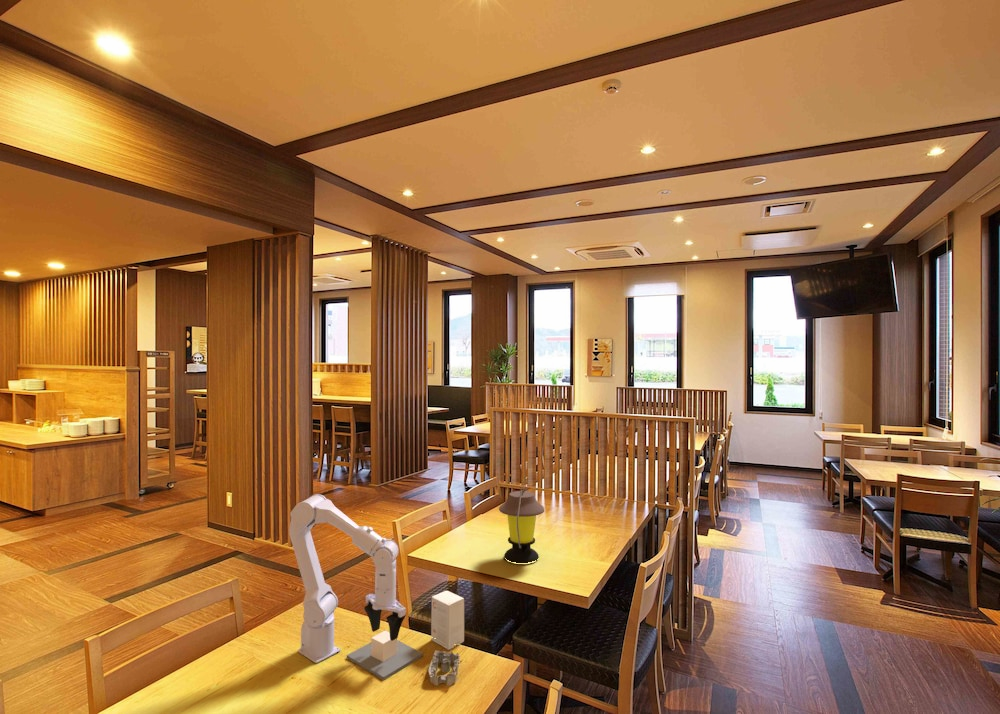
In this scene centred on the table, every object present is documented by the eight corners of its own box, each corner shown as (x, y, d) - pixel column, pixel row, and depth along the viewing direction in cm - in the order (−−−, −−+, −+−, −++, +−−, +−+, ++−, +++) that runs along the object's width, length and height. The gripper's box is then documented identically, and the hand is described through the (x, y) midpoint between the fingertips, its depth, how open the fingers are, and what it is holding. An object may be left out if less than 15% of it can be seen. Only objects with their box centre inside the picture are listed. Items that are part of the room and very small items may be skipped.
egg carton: (455, 688, 131) (455, 672, 131) (426, 686, 132) (426, 670, 132) (461, 663, 142) (461, 648, 142) (434, 661, 142) (434, 647, 142)
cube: (371, 655, 143) (371, 637, 143) (384, 647, 147) (385, 630, 147) (383, 662, 140) (383, 643, 140) (396, 653, 144) (397, 635, 144)
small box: (464, 642, 152) (464, 598, 152) (448, 650, 147) (448, 605, 148) (446, 632, 158) (446, 589, 158) (430, 640, 153) (430, 596, 153)
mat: (346, 658, 143) (346, 655, 143) (386, 636, 154) (386, 634, 154) (383, 680, 134) (383, 677, 134) (423, 656, 145) (423, 653, 145)
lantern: (520, 544, 233) (520, 478, 233) (556, 554, 221) (556, 485, 221) (485, 561, 213) (486, 489, 213) (523, 573, 201) (524, 497, 201)
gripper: (357, 584, 145) (356, 632, 145) (392, 598, 137) (391, 649, 137) (376, 575, 151) (376, 621, 151) (411, 589, 142) (410, 638, 142)
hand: (384, 634), depth 144 cm, fingers open, 7 cm apart
